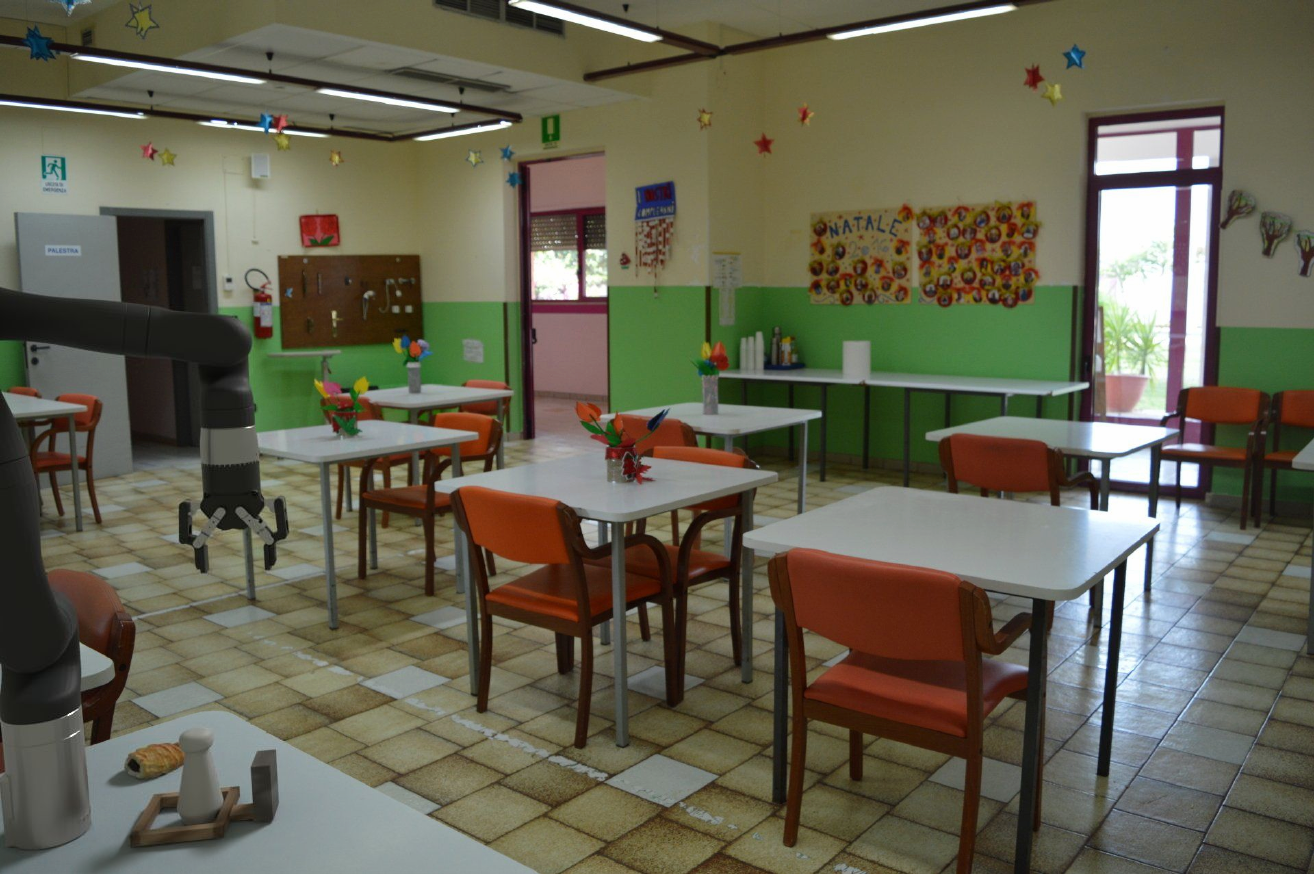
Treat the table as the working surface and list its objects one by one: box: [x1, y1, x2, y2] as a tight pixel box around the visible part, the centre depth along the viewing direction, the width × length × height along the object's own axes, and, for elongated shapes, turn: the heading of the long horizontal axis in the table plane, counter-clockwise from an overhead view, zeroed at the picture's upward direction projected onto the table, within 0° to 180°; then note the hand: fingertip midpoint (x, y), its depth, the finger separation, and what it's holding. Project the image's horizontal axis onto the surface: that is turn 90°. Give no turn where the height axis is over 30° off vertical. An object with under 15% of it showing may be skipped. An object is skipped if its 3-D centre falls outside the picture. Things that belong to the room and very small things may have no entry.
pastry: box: [123, 741, 185, 780], centre depth 154 cm, size 9×7×4 cm
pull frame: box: [129, 748, 280, 848], centre depth 138 cm, size 17×11×8 cm, turn 102°
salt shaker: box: [176, 726, 224, 826], centre depth 137 cm, size 6×6×13 cm
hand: (237, 570), depth 142 cm, fingers open, 8 cm apart
